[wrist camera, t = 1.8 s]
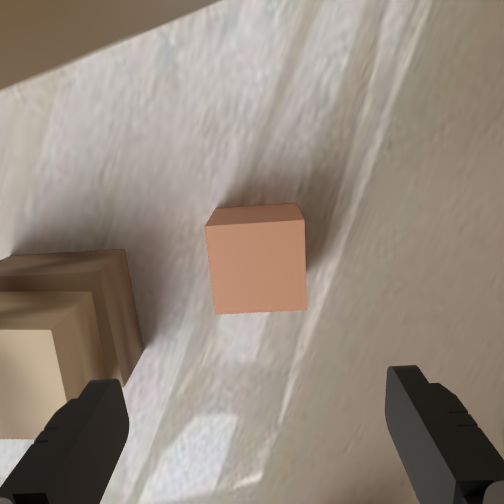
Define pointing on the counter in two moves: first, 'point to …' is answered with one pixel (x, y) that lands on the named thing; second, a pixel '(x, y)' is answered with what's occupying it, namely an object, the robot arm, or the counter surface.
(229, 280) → the block
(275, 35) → the counter surface
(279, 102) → the counter surface
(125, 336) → the tower base
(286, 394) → the counter surface
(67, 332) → the tower top
